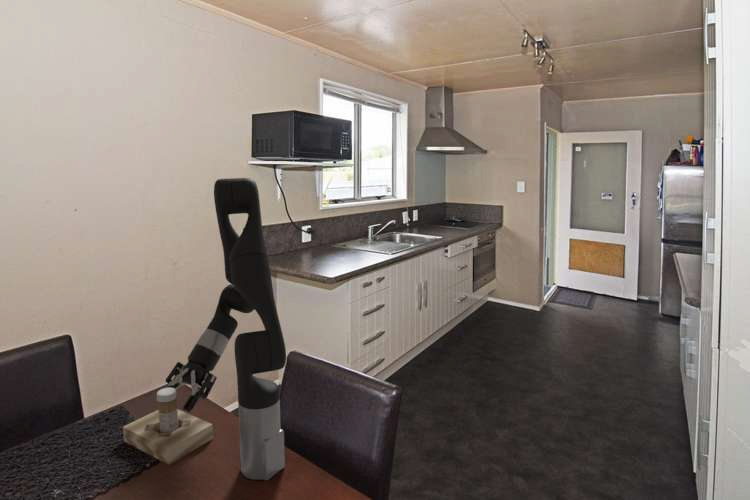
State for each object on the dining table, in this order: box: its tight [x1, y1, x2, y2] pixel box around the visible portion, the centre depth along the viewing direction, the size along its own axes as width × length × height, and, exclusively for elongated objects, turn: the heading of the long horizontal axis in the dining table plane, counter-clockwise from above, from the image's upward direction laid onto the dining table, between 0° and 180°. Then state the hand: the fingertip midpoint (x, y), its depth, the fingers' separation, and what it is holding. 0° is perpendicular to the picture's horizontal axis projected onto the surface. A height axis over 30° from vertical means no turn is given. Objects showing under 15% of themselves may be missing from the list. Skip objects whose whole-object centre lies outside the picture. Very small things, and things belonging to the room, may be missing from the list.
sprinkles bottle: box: [156, 387, 178, 433], centre depth 122 cm, size 5×5×14 cm
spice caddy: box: [122, 408, 214, 466], centre depth 122 cm, size 18×13×4 cm
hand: (175, 406), depth 123 cm, fingers open, 8 cm apart
